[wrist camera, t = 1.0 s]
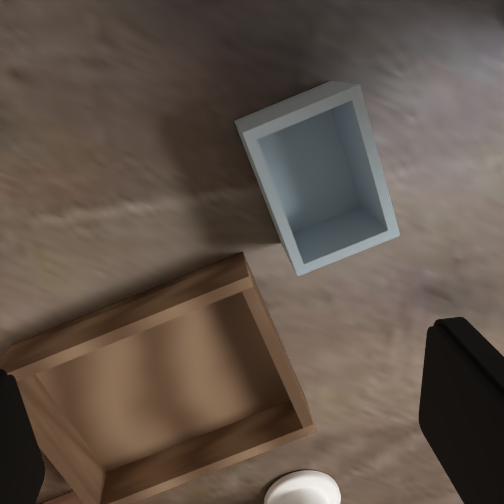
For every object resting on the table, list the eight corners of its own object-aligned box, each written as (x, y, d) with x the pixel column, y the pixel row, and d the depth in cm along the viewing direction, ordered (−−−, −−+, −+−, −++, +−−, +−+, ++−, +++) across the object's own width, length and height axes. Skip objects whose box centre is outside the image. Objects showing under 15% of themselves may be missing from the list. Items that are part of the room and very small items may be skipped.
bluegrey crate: (330, 80, 28) (359, 84, 23) (367, 208, 32) (400, 235, 27) (233, 120, 29) (242, 132, 24) (281, 243, 32) (297, 276, 27)
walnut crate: (242, 251, 32) (249, 276, 28) (304, 395, 38) (316, 431, 34) (10, 345, 33) (-14, 381, 29) (104, 474, 38) (95, 517, 35)
